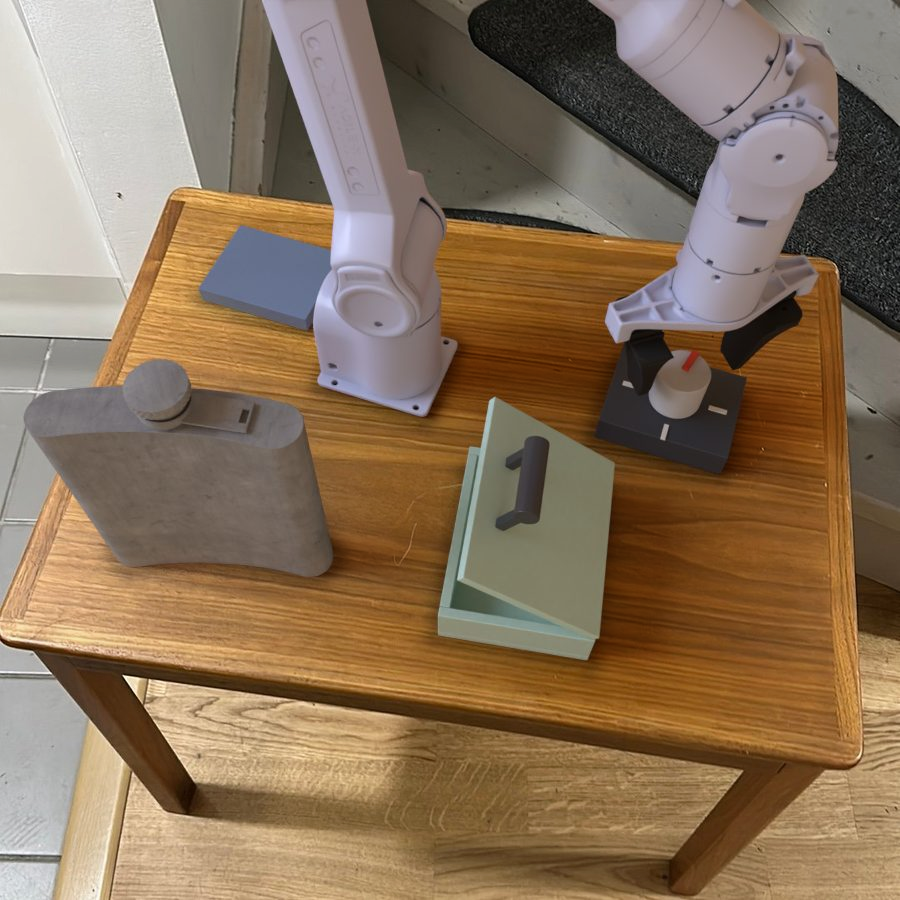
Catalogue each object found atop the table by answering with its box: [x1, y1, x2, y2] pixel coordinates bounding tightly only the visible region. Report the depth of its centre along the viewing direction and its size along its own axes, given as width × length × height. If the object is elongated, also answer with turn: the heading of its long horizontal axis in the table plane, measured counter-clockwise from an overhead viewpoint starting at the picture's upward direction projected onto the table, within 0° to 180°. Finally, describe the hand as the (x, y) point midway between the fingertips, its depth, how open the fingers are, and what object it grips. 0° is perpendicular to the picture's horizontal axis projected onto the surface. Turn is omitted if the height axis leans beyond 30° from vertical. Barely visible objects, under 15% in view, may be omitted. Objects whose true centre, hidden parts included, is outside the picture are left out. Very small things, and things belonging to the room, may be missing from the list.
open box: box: [437, 445, 596, 661], centre depth 65 cm, size 10×13×4 cm
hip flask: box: [23, 358, 335, 578], centre depth 59 cm, size 16×4×20 cm, turn 87°
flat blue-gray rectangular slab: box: [198, 224, 332, 331], centre depth 80 cm, size 10×8×2 cm
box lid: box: [457, 396, 616, 641], centre depth 60 cm, size 11×13×4 cm
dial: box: [649, 349, 711, 419], centre depth 70 cm, size 4×4×4 cm
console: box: [593, 343, 747, 475], centre depth 73 cm, size 10×8×3 cm
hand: (683, 371), depth 69 cm, fingers open, 7 cm apart
